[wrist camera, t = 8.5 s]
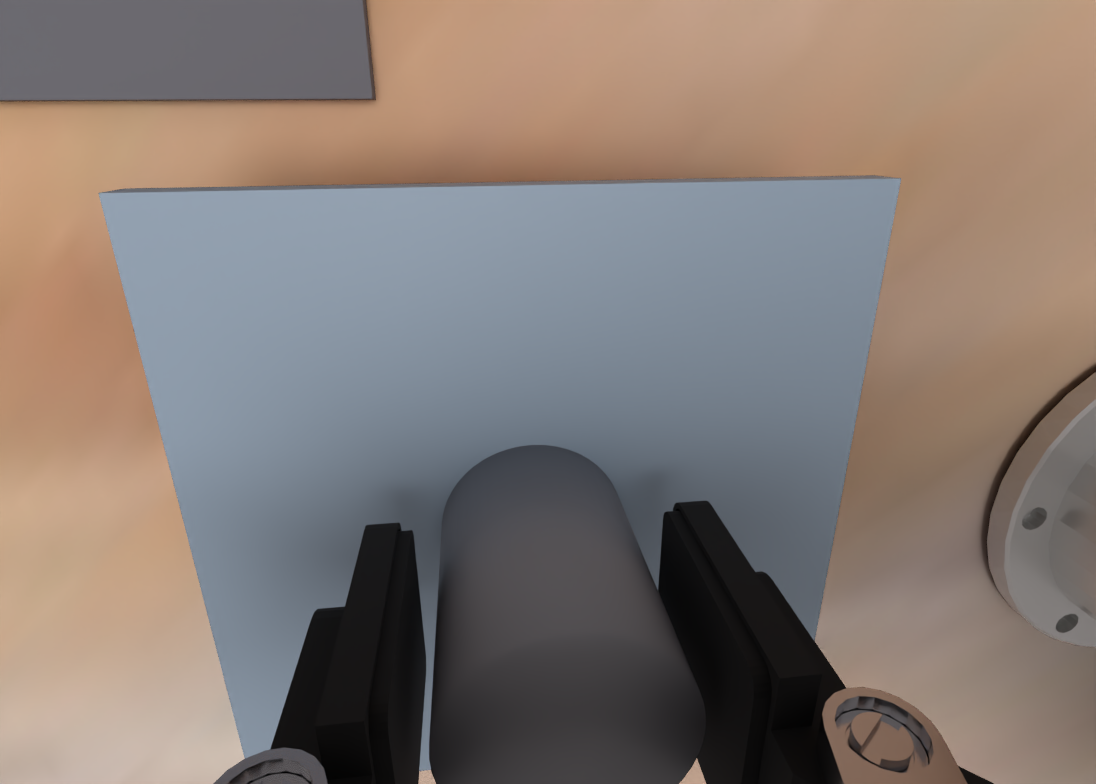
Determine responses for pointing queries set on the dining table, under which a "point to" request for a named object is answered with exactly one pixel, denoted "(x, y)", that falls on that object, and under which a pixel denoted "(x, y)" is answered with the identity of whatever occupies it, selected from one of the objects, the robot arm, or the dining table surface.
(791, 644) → the robot arm
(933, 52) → the dining table surface
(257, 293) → the lid
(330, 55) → the mat
